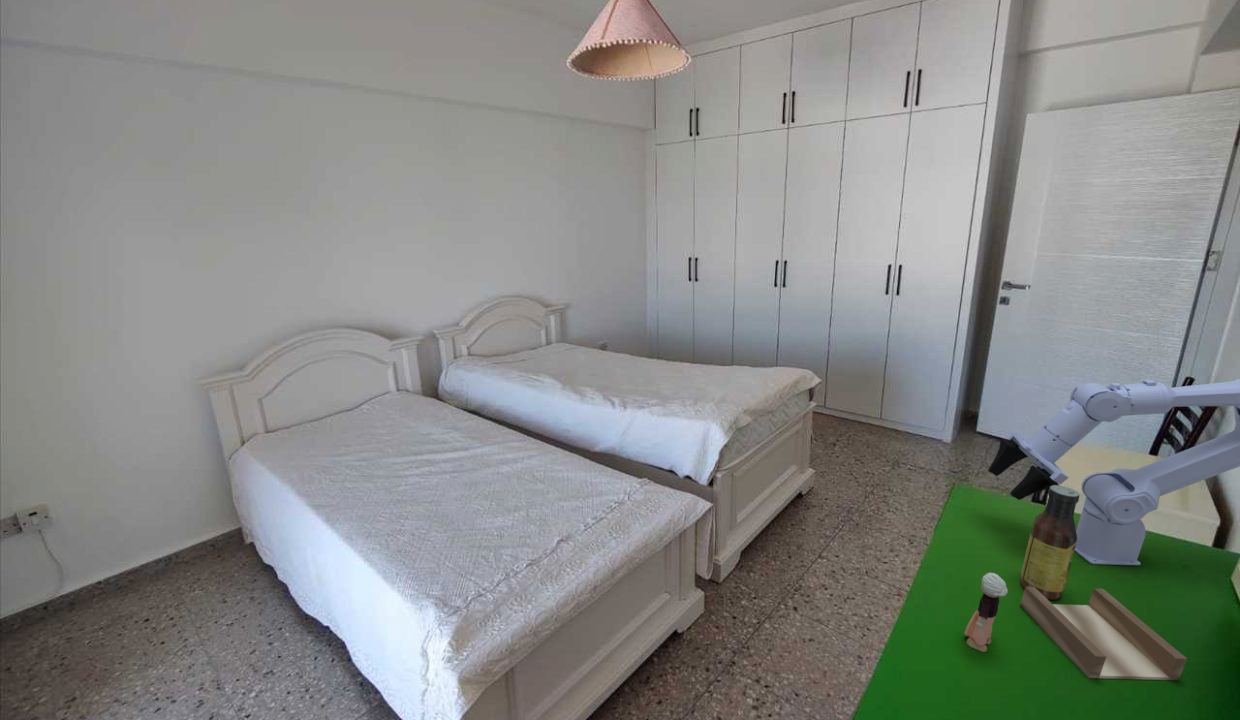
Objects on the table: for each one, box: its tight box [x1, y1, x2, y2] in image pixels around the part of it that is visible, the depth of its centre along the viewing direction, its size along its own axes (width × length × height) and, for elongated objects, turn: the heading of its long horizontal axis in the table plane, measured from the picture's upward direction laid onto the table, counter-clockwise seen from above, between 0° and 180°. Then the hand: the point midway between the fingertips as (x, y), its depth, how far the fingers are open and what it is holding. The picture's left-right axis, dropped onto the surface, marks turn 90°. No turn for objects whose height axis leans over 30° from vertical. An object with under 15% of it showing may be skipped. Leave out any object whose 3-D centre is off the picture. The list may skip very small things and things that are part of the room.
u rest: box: [1019, 587, 1188, 681], centre depth 85 cm, size 13×14×4 cm
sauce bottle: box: [1020, 484, 1080, 600], centre depth 94 cm, size 7×6×20 cm
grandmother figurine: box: [964, 572, 1009, 653], centre depth 83 cm, size 8×4×13 cm, turn 141°
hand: (1002, 484), depth 108 cm, fingers open, 7 cm apart
